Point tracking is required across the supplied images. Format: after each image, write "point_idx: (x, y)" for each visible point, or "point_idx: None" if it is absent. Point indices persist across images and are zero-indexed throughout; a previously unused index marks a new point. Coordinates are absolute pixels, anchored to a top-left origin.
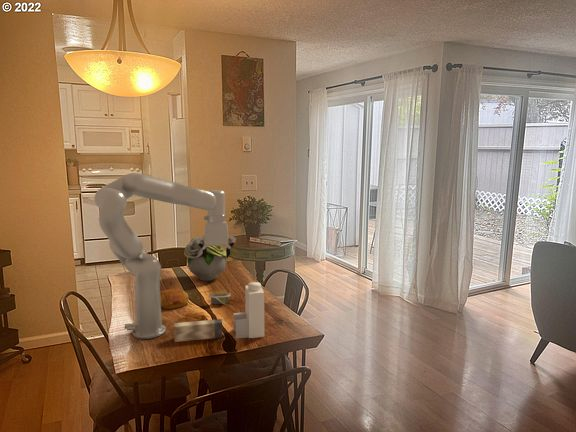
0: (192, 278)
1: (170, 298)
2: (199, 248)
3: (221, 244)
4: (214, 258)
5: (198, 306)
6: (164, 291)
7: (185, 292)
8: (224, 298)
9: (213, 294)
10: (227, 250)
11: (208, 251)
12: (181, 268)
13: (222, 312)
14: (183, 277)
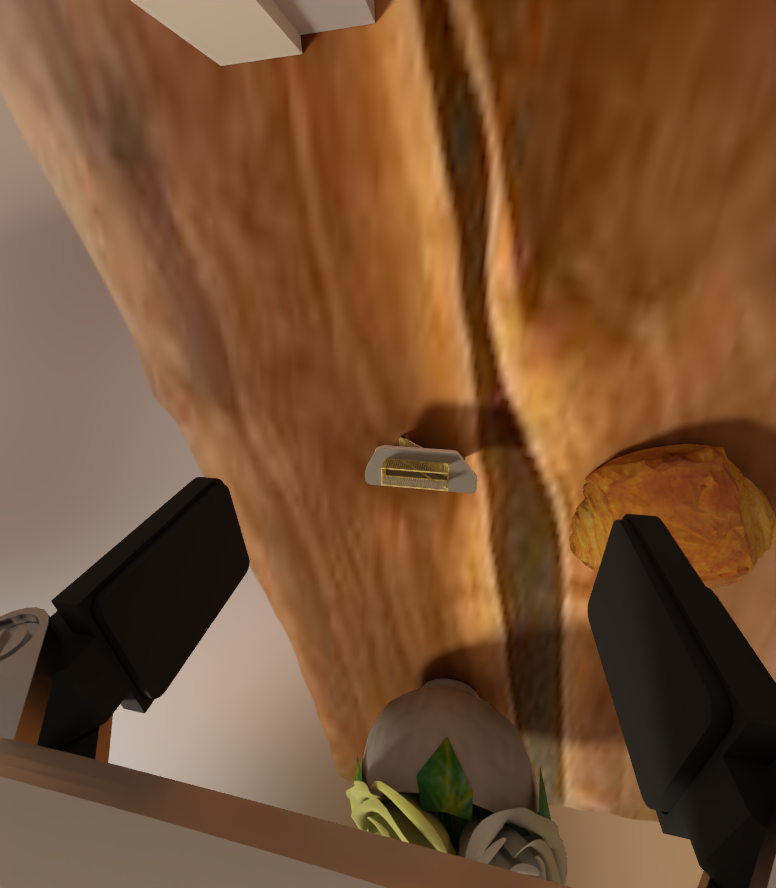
0: (506, 713)
1: (713, 484)
2: None
3: (8, 810)
4: (413, 776)
5: (532, 443)
6: (740, 559)
7: (594, 551)
8: (398, 463)
9: (452, 483)
10: (106, 577)
11: (440, 836)
12: None
13: (421, 337)
14: (539, 730)
